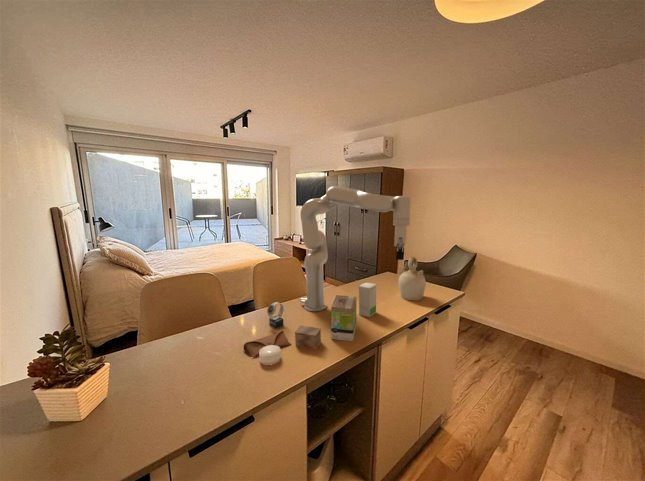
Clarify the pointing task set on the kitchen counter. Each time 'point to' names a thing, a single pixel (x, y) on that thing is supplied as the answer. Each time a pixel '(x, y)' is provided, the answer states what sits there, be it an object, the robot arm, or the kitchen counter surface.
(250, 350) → the sunglasses case
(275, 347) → the cream white dome
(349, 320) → the tea box
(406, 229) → the robot arm
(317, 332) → the walnut box
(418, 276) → the jug
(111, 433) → the kitchen counter surface
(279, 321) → the watch
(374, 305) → the skincare box
